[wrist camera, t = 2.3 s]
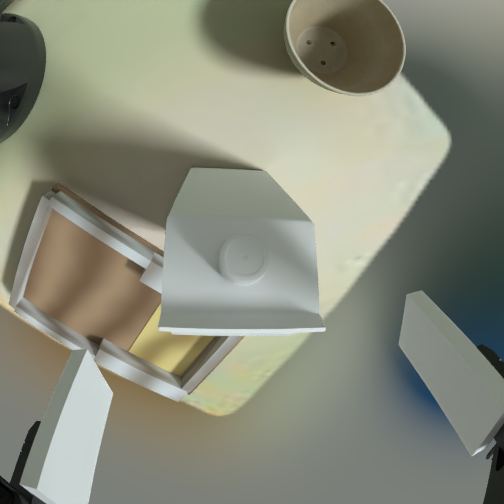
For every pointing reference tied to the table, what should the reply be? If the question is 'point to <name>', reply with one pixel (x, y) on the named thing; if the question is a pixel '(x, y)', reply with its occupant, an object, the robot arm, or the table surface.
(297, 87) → the table surface
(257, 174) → the milk carton
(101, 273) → the divided compartment tray
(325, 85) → the flower pot
